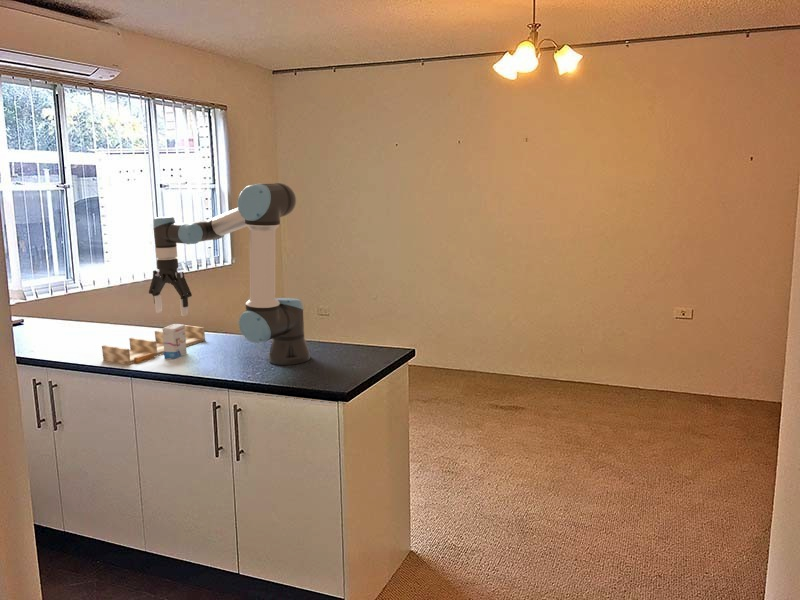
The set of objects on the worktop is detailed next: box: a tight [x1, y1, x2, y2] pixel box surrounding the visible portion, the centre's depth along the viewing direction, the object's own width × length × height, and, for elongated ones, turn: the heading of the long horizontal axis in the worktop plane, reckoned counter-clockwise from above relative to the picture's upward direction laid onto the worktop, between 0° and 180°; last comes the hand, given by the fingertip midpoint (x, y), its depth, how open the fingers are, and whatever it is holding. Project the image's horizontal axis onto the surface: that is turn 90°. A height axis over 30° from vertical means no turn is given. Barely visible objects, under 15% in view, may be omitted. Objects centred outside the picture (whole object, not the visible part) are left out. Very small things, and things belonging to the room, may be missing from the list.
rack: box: [101, 324, 206, 366], centre depth 267 cm, size 16×38×6 cm, turn 151°
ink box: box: [161, 323, 188, 360], centre depth 258 cm, size 9×5×12 cm, turn 168°
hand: (171, 313), depth 256 cm, fingers open, 13 cm apart
